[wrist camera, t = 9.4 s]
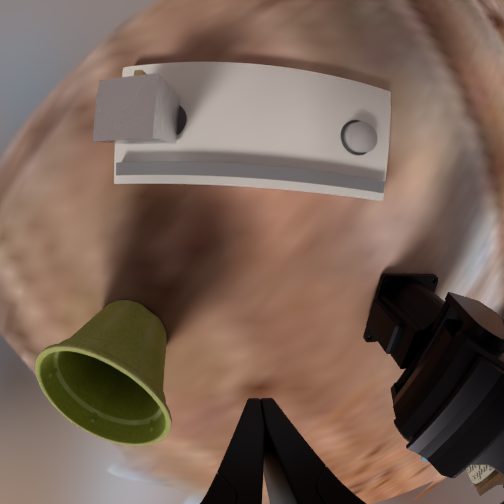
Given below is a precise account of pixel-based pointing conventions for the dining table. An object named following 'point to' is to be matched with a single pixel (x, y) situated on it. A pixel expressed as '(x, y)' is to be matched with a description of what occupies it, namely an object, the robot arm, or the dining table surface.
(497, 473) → the wooden container
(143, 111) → the slider
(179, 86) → the plate
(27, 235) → the dining table surface
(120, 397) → the plant pot
